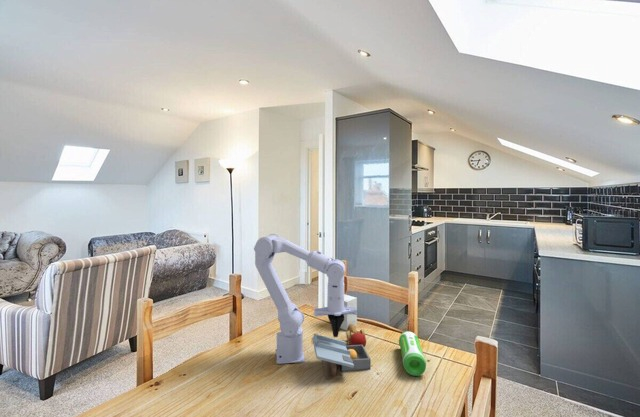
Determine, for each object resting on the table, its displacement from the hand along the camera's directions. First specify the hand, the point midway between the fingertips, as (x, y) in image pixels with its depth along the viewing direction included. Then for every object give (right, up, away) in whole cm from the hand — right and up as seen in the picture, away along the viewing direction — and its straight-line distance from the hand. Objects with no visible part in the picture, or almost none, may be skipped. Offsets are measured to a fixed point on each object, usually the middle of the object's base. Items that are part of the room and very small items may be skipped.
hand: (335, 335), depth 102 cm
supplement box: (+6, -8, +28) cm, 30 cm away
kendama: (+9, -9, +15) cm, 20 cm away
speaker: (+26, -10, +1) cm, 28 cm away
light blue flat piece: (-1, -3, -4) cm, 6 cm away
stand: (-1, -9, -4) cm, 10 cm away
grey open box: (+6, -9, 0) cm, 11 cm away
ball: (+5, -7, 0) cm, 9 cm away
